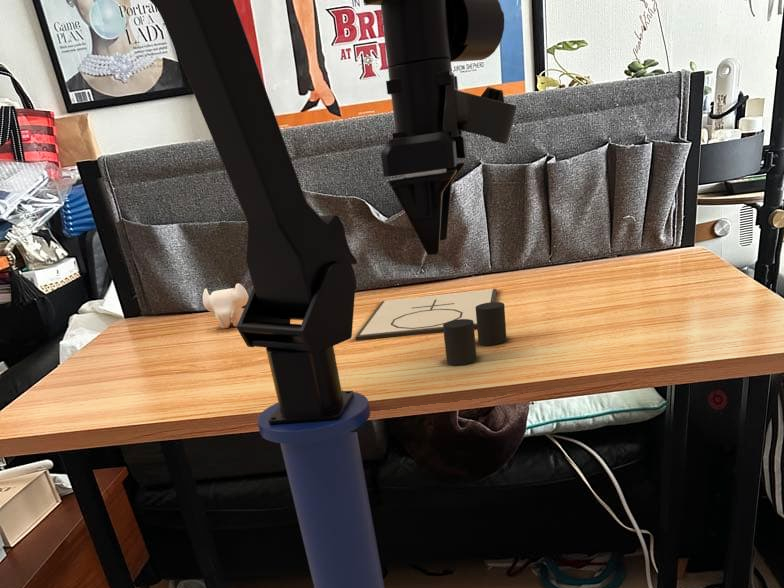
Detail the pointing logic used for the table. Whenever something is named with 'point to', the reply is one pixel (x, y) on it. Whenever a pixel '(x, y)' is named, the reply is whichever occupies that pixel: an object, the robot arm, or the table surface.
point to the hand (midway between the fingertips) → (437, 246)
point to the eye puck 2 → (491, 323)
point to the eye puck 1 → (460, 341)
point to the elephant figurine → (226, 304)
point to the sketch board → (423, 313)
